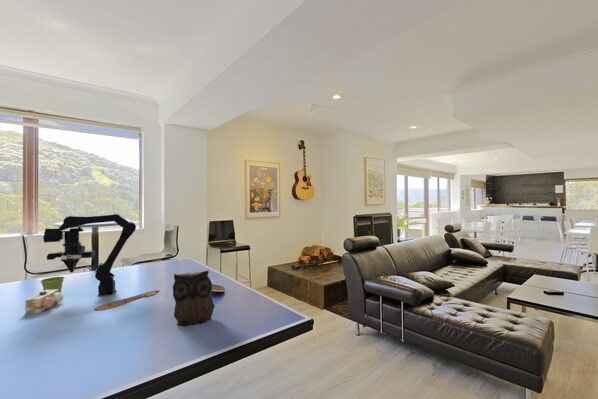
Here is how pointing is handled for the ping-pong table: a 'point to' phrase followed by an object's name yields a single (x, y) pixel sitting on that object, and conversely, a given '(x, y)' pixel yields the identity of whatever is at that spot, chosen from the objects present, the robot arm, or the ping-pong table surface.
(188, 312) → the owl
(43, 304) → the knob
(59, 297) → the knob
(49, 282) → the plant pot
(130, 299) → the paddle
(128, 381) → the ping-pong table surface
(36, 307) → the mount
